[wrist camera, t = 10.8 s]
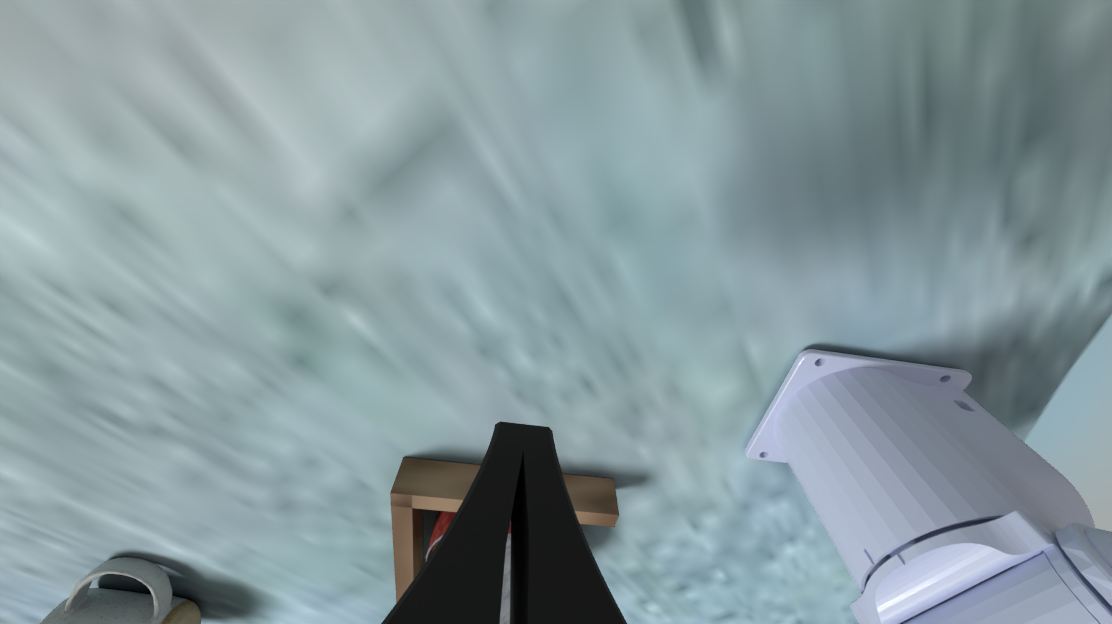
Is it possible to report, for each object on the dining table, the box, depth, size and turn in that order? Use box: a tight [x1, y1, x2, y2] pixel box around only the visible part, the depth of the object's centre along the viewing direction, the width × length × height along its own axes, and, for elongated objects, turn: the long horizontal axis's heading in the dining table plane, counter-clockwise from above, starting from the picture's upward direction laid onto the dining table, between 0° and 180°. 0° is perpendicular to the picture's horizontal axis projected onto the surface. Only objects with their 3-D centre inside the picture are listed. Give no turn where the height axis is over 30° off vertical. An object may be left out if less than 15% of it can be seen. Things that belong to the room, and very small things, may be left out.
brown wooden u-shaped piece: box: [390, 457, 619, 602], centre depth 30 cm, size 13×16×2 cm
